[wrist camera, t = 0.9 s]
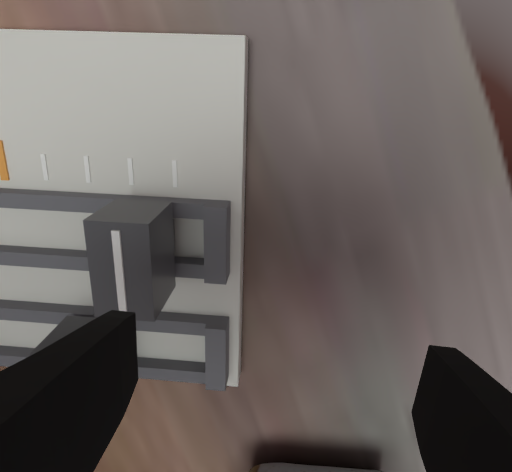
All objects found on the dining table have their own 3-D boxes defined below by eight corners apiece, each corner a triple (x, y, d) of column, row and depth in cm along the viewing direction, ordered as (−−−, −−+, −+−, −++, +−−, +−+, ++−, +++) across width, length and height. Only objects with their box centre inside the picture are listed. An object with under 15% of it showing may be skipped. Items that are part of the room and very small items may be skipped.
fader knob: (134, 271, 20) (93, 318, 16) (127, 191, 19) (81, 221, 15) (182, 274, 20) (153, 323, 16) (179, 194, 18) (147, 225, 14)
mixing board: (-29, 349, 24) (-61, 376, 22) (-110, 28, 18) (-166, 21, 16) (240, 371, 23) (234, 403, 21) (248, 38, 17) (241, 32, 15)
